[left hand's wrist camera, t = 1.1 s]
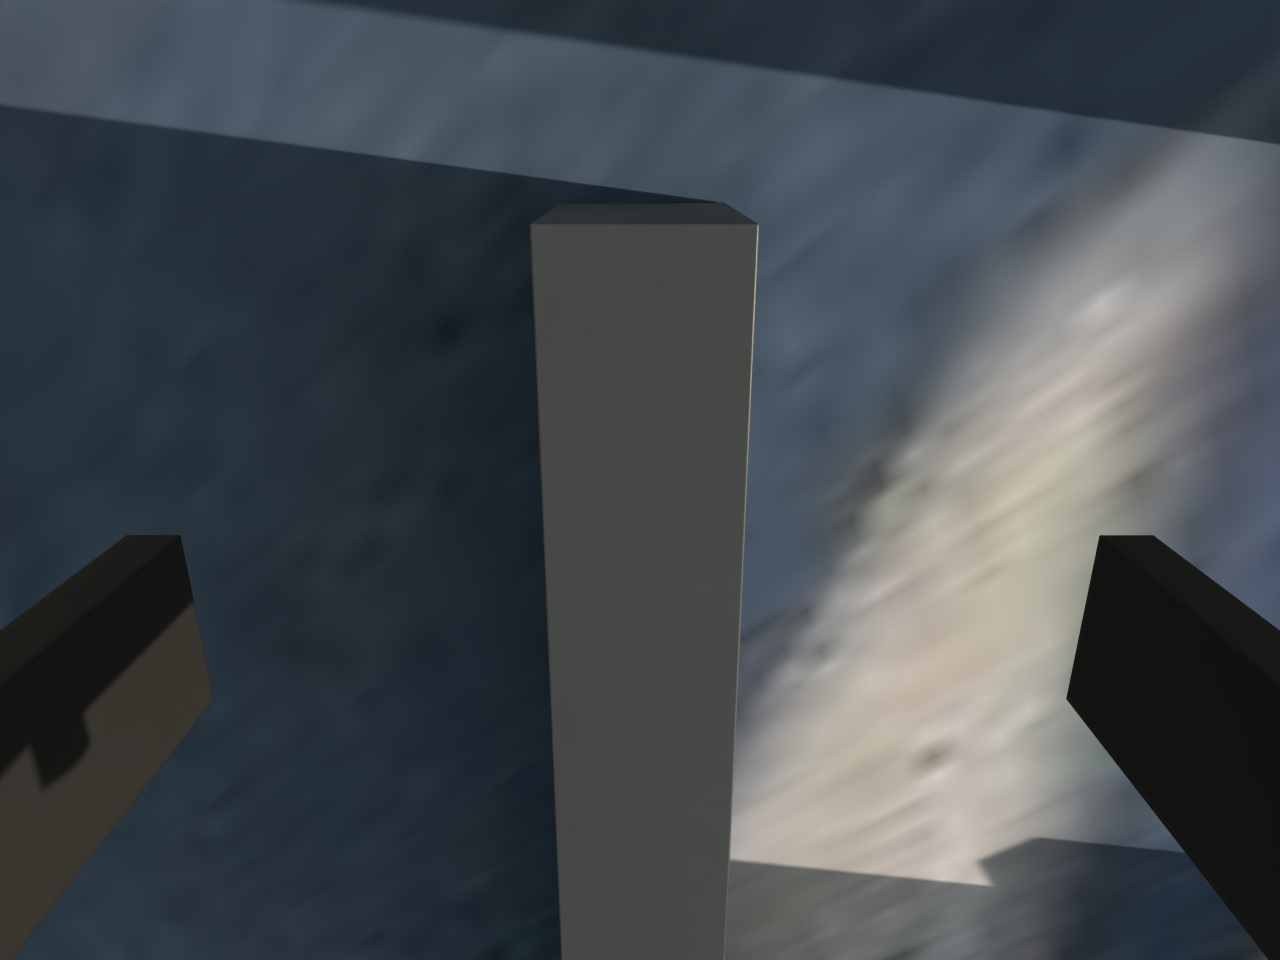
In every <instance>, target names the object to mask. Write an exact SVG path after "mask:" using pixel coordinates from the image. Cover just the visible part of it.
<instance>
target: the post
mask: <svg viewBox="0 0 1280 960" xmlns="http://www.w3.org/2000/svg"><path fill="white" fill-rule="evenodd" d="M758 235H759V225H758V224H757V223H756V222H754V221H753V220H751V219H750V218H748V217H746V216H745V215H743V214H742V213H740V212H739V211H737V210H735V209H734V208H732V207H731V206H729V205H727V204H726V203H560V204H559V205H557V206H556V207H554V208H553V209H551V210H550V211H549V212H547V213H546V214H544V215H543V216H541V217H540V218H538V219H537V220H535V221H534V222H532V223H531V224H530V249H531V272H532V295H533V318H534V341H535V365H536V388H537V411H538V434H539V457H540V481H541V504H542V527H543V550H544V573H545V596H546V620H547V643H548V666H549V689H550V712H551V736H552V759H553V782H554V805H555V828H556V852H557V875H558V898H559V921H560V944H561V960H725V949H726V927H727V905H728V884H729V862H730V841H731V819H732V797H733V776H734V754H735V732H736V711H737V689H738V667H739V646H740V624H741V603H742V581H743V559H744V538H745V516H746V494H747V473H748V451H749V429H750V408H751V386H752V365H753V343H754V321H755V300H756V278H757V256H758Z"/></svg>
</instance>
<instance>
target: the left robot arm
mask: <svg viewBox="0 0 1280 960" xmlns="http://www.w3.org/2000/svg"><path fill="white" fill-rule="evenodd" d="M213 699H214V698H213V693H212V689H211V684H210V679H209V674H208V669H207V664H206V659H205V654H204V649H203V644H202V639H201V634H200V630H199V625H198V620H197V615H196V610H195V605H194V600H193V595H192V590H191V585H190V580H189V576H188V571H187V566H186V561H185V556H184V551H183V546H182V541H181V536H180V535H127V536H125V537H124V538H123V539H121V540H120V541H119V542H117V543H116V544H115V545H113V546H112V547H111V548H109V549H108V550H107V551H105V552H104V553H103V554H101V555H100V556H99V557H97V558H96V559H95V560H93V561H92V562H91V563H89V564H88V565H87V566H85V567H84V568H83V569H81V570H80V571H79V572H77V573H76V574H75V575H73V576H72V577H71V578H69V579H68V580H67V581H65V582H64V583H63V584H61V585H60V586H59V587H58V588H56V589H55V590H54V591H52V592H51V593H50V594H48V595H47V596H46V597H44V598H43V599H42V600H40V601H39V602H38V603H36V604H35V605H34V606H32V607H31V608H30V609H28V610H27V611H26V612H24V613H23V614H22V615H20V616H19V617H18V618H16V619H15V620H14V621H12V622H11V623H10V624H8V625H7V626H6V627H4V628H3V629H2V630H0V960H12V958H13V957H14V956H15V954H16V953H17V952H18V951H19V949H20V948H21V947H22V945H23V944H24V943H25V942H26V940H27V939H28V938H29V936H30V935H31V934H32V932H33V931H34V930H35V929H36V927H37V926H38V925H39V923H40V922H41V921H42V920H43V918H44V917H45V916H46V914H47V913H48V912H49V911H50V909H51V908H52V907H53V905H54V904H55V903H56V902H57V900H58V899H59V898H60V896H61V895H62V894H63V893H64V891H65V890H66V889H67V887H68V886H69V885H70V884H71V882H72V881H73V880H74V878H75V877H76V876H77V874H78V873H79V872H80V871H81V869H82V868H83V867H84V865H85V864H86V863H87V862H88V860H89V859H90V858H91V856H92V855H93V854H94V853H95V851H96V850H97V849H98V847H99V846H100V845H101V844H102V842H103V841H104V840H105V838H106V837H107V836H108V835H109V833H110V832H111V831H112V829H113V828H114V827H115V825H116V824H117V823H118V822H119V820H120V819H121V818H122V816H123V815H124V814H125V813H126V811H127V810H128V809H129V807H130V806H131V805H132V804H133V802H134V801H135V800H136V798H137V797H138V796H139V795H140V793H141V792H142V791H143V789H144V788H145V787H146V786H147V784H148V783H149V782H150V780H151V779H152V778H153V777H154V775H155V774H156V773H157V771H158V770H159V769H160V767H161V766H162V765H163V764H164V762H165V761H166V760H167V758H168V757H169V756H170V755H171V753H172V752H173V751H174V749H175V748H176V747H177V746H178V744H179V743H180V742H181V740H182V739H183V738H184V737H185V735H186V734H187V733H188V731H189V730H190V729H191V728H192V726H193V725H194V724H195V722H196V721H197V720H198V718H199V717H200V716H201V715H202V713H203V712H204V711H205V709H206V708H207V707H208V706H209V704H210V703H211V702H212V700H213ZM1066 699H1067V700H1068V702H1069V703H1070V704H1071V706H1072V707H1073V708H1074V709H1075V711H1076V712H1077V713H1078V715H1079V716H1080V717H1081V718H1082V720H1083V721H1084V722H1085V724H1086V725H1087V726H1088V728H1089V729H1090V730H1091V731H1092V733H1093V734H1094V735H1095V737H1096V738H1097V739H1098V740H1099V742H1100V743H1101V744H1102V746H1103V747H1104V748H1105V749H1106V751H1107V752H1108V753H1109V755H1110V756H1111V757H1112V758H1113V760H1114V761H1115V762H1116V764H1117V765H1118V766H1119V767H1120V769H1121V770H1122V771H1123V773H1124V774H1125V775H1126V777H1127V778H1128V779H1129V780H1130V782H1131V783H1132V784H1133V786H1134V787H1135V788H1136V789H1137V791H1138V792H1139V793H1140V795H1141V796H1142V797H1143V798H1144V800H1145V801H1146V802H1147V804H1148V805H1149V806H1150V807H1151V809H1152V810H1153V811H1154V813H1155V814H1156V815H1157V816H1158V818H1159V819H1160V820H1161V822H1162V823H1163V824H1164V825H1165V827H1166V828H1167V829H1168V831H1169V832H1170V833H1171V835H1172V836H1173V837H1174V838H1175V840H1176V841H1177V842H1178V844H1179V845H1180V846H1181V847H1182V849H1183V850H1184V851H1185V853H1186V854H1187V855H1188V856H1189V858H1190V859H1191V860H1192V862H1193V863H1194V864H1195V865H1196V867H1197V868H1198V869H1199V871H1200V872H1201V873H1202V874H1203V876H1204V877H1205V878H1206V880H1207V881H1208V882H1209V884H1210V885H1211V886H1212V887H1213V889H1214V890H1215V891H1216V893H1217V894H1218V895H1219V896H1220V898H1221V899H1222V900H1223V902H1224V903H1225V904H1226V905H1227V907H1228V908H1229V909H1230V911H1231V912H1232V913H1233V914H1234V916H1235V917H1236V918H1237V920H1238V921H1239V922H1240V923H1241V925H1242V926H1243V927H1244V929H1245V930H1246V931H1247V932H1248V934H1249V935H1250V936H1251V938H1252V939H1253V940H1254V942H1255V943H1256V944H1257V945H1258V947H1259V948H1260V949H1261V951H1262V952H1263V953H1264V954H1265V956H1266V957H1267V958H1268V960H1280V630H1278V629H1277V628H1276V627H1274V626H1273V625H1272V624H1270V623H1269V622H1268V621H1266V620H1265V619H1264V618H1262V617H1261V616H1260V615H1258V614H1257V613H1256V612H1254V611H1253V610H1252V609H1250V608H1249V607H1248V606H1246V605H1245V604H1244V603H1242V602H1241V601H1240V600H1238V599H1237V598H1236V597H1234V596H1233V595H1232V594H1230V593H1229V592H1228V591H1226V590H1225V589H1224V588H1222V587H1221V586H1220V585H1219V584H1217V583H1216V582H1215V581H1213V580H1212V579H1211V578H1209V577H1208V576H1207V575H1205V574H1204V573H1203V572H1201V571H1200V570H1199V569H1197V568H1196V567H1195V566H1193V565H1192V564H1191V563H1189V562H1188V561H1187V560H1185V559H1184V558H1183V557H1181V556H1180V555H1179V554H1177V553H1176V552H1175V551H1173V550H1172V549H1171V548H1169V547H1168V546H1167V545H1165V544H1164V543H1163V542H1161V541H1160V540H1159V539H1157V538H1156V537H1155V536H1153V535H1100V536H1099V541H1098V546H1097V551H1096V556H1095V561H1094V566H1093V571H1092V576H1091V580H1090V585H1089V590H1088V595H1087V600H1086V605H1085V610H1084V615H1083V620H1082V625H1081V630H1080V634H1079V639H1078V644H1077V649H1076V654H1075V659H1074V664H1073V669H1072V674H1071V679H1070V684H1069V689H1068V693H1067V698H1066Z"/></svg>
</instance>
